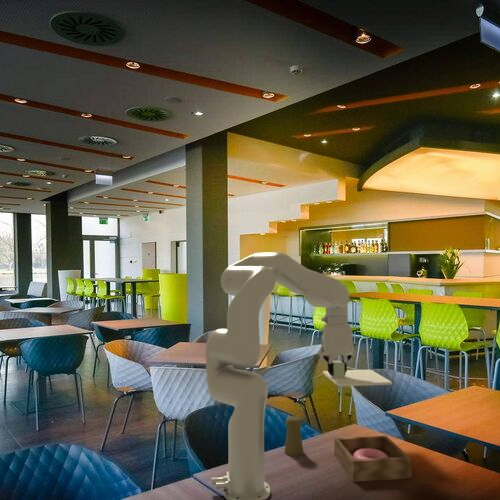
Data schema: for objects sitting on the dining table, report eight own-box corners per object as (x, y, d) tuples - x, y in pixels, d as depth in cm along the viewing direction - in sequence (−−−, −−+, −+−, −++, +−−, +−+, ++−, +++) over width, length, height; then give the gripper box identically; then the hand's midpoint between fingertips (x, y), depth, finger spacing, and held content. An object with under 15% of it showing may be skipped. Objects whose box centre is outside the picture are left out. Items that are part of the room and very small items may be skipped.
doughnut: (350, 472, 130) (350, 457, 130) (354, 457, 141) (354, 443, 141) (389, 477, 127) (389, 463, 127) (390, 461, 137) (390, 448, 137)
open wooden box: (353, 481, 124) (352, 461, 124) (334, 456, 141) (334, 438, 141) (411, 478, 126) (411, 458, 126) (386, 453, 143) (385, 435, 143)
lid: (338, 386, 144) (338, 368, 144) (322, 373, 161) (322, 357, 162) (392, 384, 146) (391, 366, 146) (370, 371, 163) (370, 355, 164)
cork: (303, 448, 147) (303, 414, 147) (303, 456, 141) (303, 421, 141) (284, 448, 147) (284, 414, 148) (284, 455, 141) (284, 420, 142)
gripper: (315, 322, 149) (316, 378, 148) (363, 321, 151) (364, 376, 150) (310, 319, 156) (310, 372, 156) (356, 318, 158) (356, 371, 157)
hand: (337, 374), depth 153 cm, fingers closed on lid, 3 cm apart
